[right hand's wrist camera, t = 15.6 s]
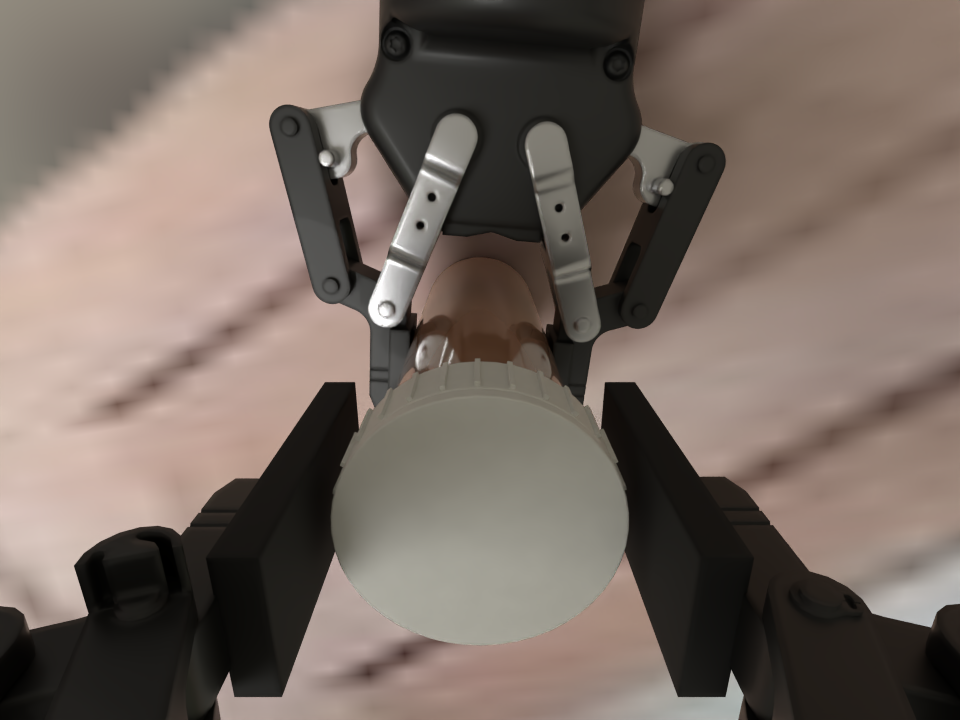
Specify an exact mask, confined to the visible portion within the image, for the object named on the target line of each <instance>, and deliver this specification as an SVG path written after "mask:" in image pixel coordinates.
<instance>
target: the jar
mask: <svg viewBox="0 0 960 720" xmlns="http://www.w3.org/2000/svg"><path fill="white" fill-rule="evenodd" d="M475 358H480V361H481V362H498V363H504V364H507V361H511V362H513V365H515V366H518V367H521V368H525V369H528V370H531V371H534V372H536V373H537V371H538V370H539V371H542V372H543V374H544V376H545V377H547V378H549V379H550V380H552V381H554V382H555V383H557V384H559V385H560V386H562V387H564V384H563V381H562V378H561V376H560V373H559V370H558V367H557V365H556V362H555V359H554V356H553V354H552V351H551V348H550V345H549V343H548V340H547V337H546V334H545V332H544V329H543V326H542V323H541V321H540V318H539V315H538V312H537V309H536V307H535V304H534V301H533V298H532V296H531V293H530V290H529V288H528V286H527V284H526V282H525V281H524V279H523V278H522V277H521V275H520V274H519V273H518V272H517V271H516V270H515V269H513V268H512V267H511V266H509V265H507V264H506V263H504V262H502V261H499V260H496V259H492V258H487V257H473V258H467V259H464V260H461V261H459V262H456V263H454V264H453V265H451V266H450V267H448V268H447V269H446V270H444V271H443V272H442V273H441V274H440V276H439V277H438V278H437V279H436V281H435V282H434V284H433V286H432V288H431V291H430V293H429V296H428V299H427V302H426V304H425V307H424V310H423V313H422V315H421V318H420V321H419V324H418V326H417V329H416V332H415V335H414V337H413V340H412V343H411V346H410V348H409V351H408V354H407V357H406V359H405V362H404V365H403V368H402V370H401V373H400V376H399V379H398V381H397V384H396V387H395V388H397V387H398V386H400V385H401V384H403V383H404V382H406V381H407V380H409V379H411V378H412V375H413V374H414V373H416V372H418V374H421V373H423V372H426V371H429V370H432V369H435V368H438V367H441V366H442V365H443V363H445V362H448V364H449V365H451V364H456V363H463V362H475Z"/></svg>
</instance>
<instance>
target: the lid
mask: <svg viewBox="0 0 960 720" xmlns="http://www.w3.org/2000/svg"><path fill="white" fill-rule="evenodd" d="M617 462H618V460H617V458H616V456H615V453H614V451H613V449H612V447H611V444H610V442H609V440H608V438H607V436H606V433H605V431H604V429H601V430H599V427H598V425H597V423H596V420H595V418H594V416H593V414H592V411H591V409H590V407H589V406H588V405H587V406H585V407H584V406H583V405H582V404H581V403H580V402H579V401H578V400H577V399H576V398H575V397H574V396H573V395H572V394H571V391H570V389H569V387H567V386H566V385H565V386H564V387H562V386H560V385H559V384H557V383H555V382H554V381H552V380H550V379H549V378H547V377H545V376H544V374H543V372H542V371H539V370H538V371H537V373H536V372H534V371H531V370H528V369H525V368H521V367H518V366H515V365H513V362H511V361H507V364H504V363H498V362H481V361H480V358H475V362H463V363H456V364H451V365H449V364H448V362H445V363H443V365H442V366H441V367H438V368H435V369H432V370H429V371H426V372H423V373H421V374H418V372H416V373H414V374H413V375H412V378H411V379H409V380H407V381H406V382H404V383H403V384H401V385H400V386H398V387H397V388H395V389H394V390H393V389H392V388H390V389H388V390H387V392H386V395H385V398H383V399H382V400H381V401H380V402H379V404H378V405H377V406H376V407H375V408H374V409H373V410H372V409H370V408H369V410H368V411H367V413H366V415H365V417H364V420H363V422H362V424H361V426H360V429H359V431H358V433H357V432H355V433H354V435H353V437H352V439H351V442H350V444H349V446H348V448H347V451H346V453H345V455H344V457H343V459H342V462H341V464H340V466H341V467H343V468H342V470H341V473H340V475H339V477H338V479H337V482H336V484H335V486H334V489H333V494H334V496H333V499H332V507H331V516H330V518H331V534H332V539H333V544H334V549H335V552H336V555H337V557H338V560H339V563H340V565H341V567H342V569H343V571H344V573H345V574H346V576H347V578H348V580H349V581H350V583H351V584H352V585H353V587H354V588H355V589H356V591H357V592H358V593H359V594H360V595H361V596H362V597H363V598H364V599H365V601H366V602H367V603H368V604H369V605H370V606H372V607H373V608H374V609H375V610H377V611H378V612H379V613H380V614H382V615H383V616H384V617H386V618H388V619H389V620H391V621H392V622H394V623H396V624H397V625H399V626H401V627H403V628H405V629H407V630H409V631H411V632H414V633H417V634H419V635H422V636H425V637H428V638H431V639H435V640H439V641H443V642H448V643H455V644H462V645H498V644H505V643H511V642H517V641H521V640H525V639H528V638H532V637H535V636H538V635H540V634H543V633H546V632H548V631H551V630H553V629H555V628H557V627H559V626H560V625H562V624H564V623H566V622H568V621H569V620H571V619H572V618H574V617H575V616H577V615H578V614H580V613H581V612H582V611H583V610H584V609H586V608H587V607H588V606H589V605H590V604H591V603H593V602H594V600H595V599H596V598H597V597H598V596H599V595H600V594H601V593H602V592H603V591H604V589H605V588H606V586H607V585H608V584H609V582H610V581H611V579H612V578H613V576H614V574H615V572H616V570H617V568H618V566H619V564H620V562H621V560H622V557H623V554H624V551H625V548H626V543H627V537H628V532H629V509H628V502H627V496H626V493H625V490H627V489H626V485H625V482H624V480H623V478H622V476H621V473H620V471H619V469H618V466H617V464H616V463H617Z"/></svg>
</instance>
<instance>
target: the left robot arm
mask: <svg viewBox="0 0 960 720" xmlns="http://www.w3.org/2000/svg"><path fill="white" fill-rule="evenodd" d="M644 1H645V0H380V16H379V50H378V57H377V61H376V64H375V68H374V70H373V73H372V75H371V77H370V79H369V81H368V82H367V84H366V86H365V88H364V90H363V93H362V96H361V100H359V101H354V102H348V103H343V104H337V105H332V106H326V107H321V108H315V109H305V108H301V107H297V106H293V105H282V106H279V107H278V108H276V109H275V110H274V111H273V113H272V115H271V117H270V121H269V128H270V132H271V136H272V140H273V143H274V147H275V151H276V154H277V158H278V162H279V165H280V169H281V173H282V176H283V180H284V184H285V188H286V191H287V195H288V199H289V202H290V206H291V210H292V213H293V217H294V221H295V224H296V228H297V232H298V235H299V239H300V243H301V246H302V250H303V254H304V257H305V261H306V265H307V269H308V272H309V276H310V280H311V283H312V287H313V290H314V292H315V294H316V296H317V297H318V298H319V299H320V300H322V301H323V302H326V303H329V304H337V303H340V304H343V305H345V306H347V307H350V308H352V309H354V310H356V311H358V312H360V313H361V314H362V315H363V316H364V317H365V318H366V319H367V321H368V323H369V326H370V397H371V400H372V402H373V405H374V407H376V406H377V405H378V404H379V402H380V401H381V400H382V399H383V398H385V395H386V392H387V390H388V389H390V388H392V389H393V390H394V389H395V387H396V384H397V381H398V379H399V376H400V373H401V370H402V368H403V365H404V362H405V359H406V357H407V354H408V351H409V348H410V346H411V343H412V340H413V337H414V335H415V332H416V327H417V313H411V303H412V298H413V296H414V294H415V291H416V289H417V287H418V284H419V282H420V279H421V277H422V275H423V272H424V270H425V268H426V265H427V263H428V261H429V258H430V256H431V254H432V251H433V249H434V247H435V244H436V242H437V240H438V237H439V235H440V233H441V231H443V234H442V235H452V236H465V237H468V236H473V235H478V234H484V233H489V232H494V233H497V234H499V235H502V236H505V237H508V238H510V239H513V240H516V241H526V242H538V243H539V246H540V250H541V254H542V258H543V261H544V265H545V268H546V272H547V276H548V281H549V285H550V289H551V294H552V298H553V302H554V306H555V315H554V323H553V325H552V324H547V326H546V337H547V340H548V343H549V345H550V348H551V351H552V354H553V356H554V359H555V362H556V365H557V367H558V370H559V373H560V376H561V378H562V381H563V384H564V386H565V385H566V386H567V387H569V389H570V391H571V394H572V395H573V396H574V397H575V398H576V399H577V400H578V401H579V402H580V403H581V404H582V405H583V402H584V395H585V389H586V382H587V376H588V370H589V363H590V357H591V351H592V346H593V344H594V342H595V340H596V339H597V338H598V337H599V336H600V335H601V334H603V333H605V332H607V331H610V330H613V329H617V328H621V327H625V326H629V327H631V328H635V329H641V328H645V327H647V326H649V325H650V324H651V323H652V322H653V321H654V320H655V318H656V316H657V314H658V312H659V310H660V308H661V306H662V303H663V301H664V299H665V297H666V295H667V293H668V290H669V288H670V286H671V284H672V282H673V279H674V277H675V275H676V273H677V271H678V269H679V266H680V264H681V262H682V260H683V258H684V256H685V253H686V251H687V249H688V247H689V245H690V243H691V240H692V238H693V236H694V234H695V232H696V230H697V227H698V225H699V223H700V221H701V219H702V217H703V214H704V212H705V210H706V208H707V206H708V203H709V201H710V199H711V197H712V195H713V193H714V190H715V188H716V186H717V184H718V182H719V180H720V177H721V175H722V173H723V171H724V168H725V163H726V159H725V154H724V152H723V150H722V149H721V148H720V147H719V146H717V145H716V144H713V143H702V142H692V143H688V142H685V141H683V140H680V139H677V138H675V137H672V136H669V135H667V134H664V133H661V132H659V131H656V130H653V129H651V128H648V127H645V126H643V125H642V119H641V113H640V110H639V107H638V105H637V102H636V98H635V94H634V87H633V70H634V64H635V58H636V52H637V45H638V39H639V33H640V26H641V20H642V13H643V7H644ZM366 135H369V136H370V138H371V139H372V141H373V142H374V144H375V145H376V147H377V149H378V150H379V152H380V153H381V155H382V157H383V158H384V160H385V161H386V163H387V165H388V166H389V168H390V169H391V171H392V172H393V174H394V176H395V177H396V179H397V180H398V182H399V184H400V185H401V187H402V188H403V190H404V192H405V193H406V195H407V196H408V198H409V200H408V202H407V205H406V207H405V210H404V212H403V215H402V217H401V220H400V222H399V225H398V227H397V230H396V233H395V235H394V238H393V240H392V243H391V245H390V248H389V251H388V256H387V259H386V261H385V264H384V266H383V269H382V271H381V272H380V271H378V270H376V269H374V268H371V267H369V266H367V265H365V264H363V262H362V258H361V253H360V249H359V245H358V241H357V236H356V232H355V228H354V224H353V219H352V215H351V211H350V207H349V203H348V198H347V194H346V190H345V186H344V181H343V177H346V176H348V175H350V174H351V173H352V172H353V171H354V170H355V168H356V165H357V147H358V144H359V142H360V141H361V140H362V138H364V137H365V136H366ZM627 158H629V159H630V160H631V162H632V163H633V165H634V168H635V178H634V182H633V192H634V194H635V196H636V198H637V199H638V200H640V201H641V202H643V204H642V206H641V209H640V211H639V213H638V216H637V218H636V220H635V223H634V225H633V228H632V230H631V232H630V235H629V237H628V239H627V242H626V244H625V247H624V249H623V251H622V254H621V256H620V258H619V261H618V263H617V266H616V268H615V270H614V273H613V275H612V277H611V280H610V282H609V284H606V285H603V286H599V287H595V288H594V286H593V281H592V276H591V260H590V255H589V250H588V245H587V240H586V235H585V231H584V226H583V221H582V216H581V210H582V208H583V207H584V206H585V205H586V204H587V203H588V202H589V201H590V199H591V198H592V197H593V196H594V195H595V194H596V193H597V192H598V191H599V189H600V188H601V187H602V186H603V185H604V184H605V183H606V182H607V180H608V179H609V178H610V177H611V176H612V175H613V174H614V173H615V171H616V170H617V169H618V168H619V167H620V166H621V165H622V164H623V162H624V161H625V160H626V159H627Z"/></svg>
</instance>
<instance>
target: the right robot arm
mask: <svg viewBox="0 0 960 720" xmlns="http://www.w3.org/2000/svg"><path fill="white" fill-rule="evenodd" d="M601 429H604V431H605V433H606V436H607V438H608V440H609V442H610V444H611V447H612V449H613V451H614V453H615V456H616V458H617V460H618V462H617V463H616V464H617V466H618V469H619V471H620V473H621V476H622V478H623V480H624V482H625V485H626V489H627V490H625V493H626V496H627V502H628V509H629V532H628V537H627V543H626V548H625V553H626V556H627V558H628V561H629V564H630V567H631V569H632V572H633V575H634V578H635V580H636V583H637V586H638V589H639V591H640V594H641V597H642V599H643V602H644V605H645V608H646V610H647V613H648V616H649V619H650V621H651V624H652V627H653V630H654V632H655V635H656V638H657V641H658V643H659V646H660V649H661V651H662V654H663V657H664V660H665V662H666V665H667V668H668V671H669V673H670V676H671V679H672V682H673V684H674V687H675V690H676V693H677V695H678V697H726V692H727V687H728V682H729V677H730V673H731V670H732V672H733V674H734V676H735V678H736V680H737V682H738V684H739V686H740V688H741V690H742V692H743V694H744V697H743V701H742V706H741V710H740V715H739V719H738V720H960V604H954V605H946V606H944V607H943V608H942V609H940V610H939V611H938V612H937V614H936V616H935V619H934V622H933V625H932V627H931V628H930V627H926V626H922V625H917V624H913V623H908V622H904V621H900V620H895V619H891V618H886V617H882V616H879V615H875V614H872V613H871V611H870V610H869V608H868V607H867V605H866V604H865V603H864V601H863V600H862V599H861V598H860V597H859V596H858V595H856V594H855V593H854V592H853V591H852V590H850V589H849V588H848V587H846V586H845V585H843V584H841V583H839V582H837V581H835V580H833V579H831V578H829V577H827V576H823V575H820V574H817V573H813V572H810V571H809V570H808V569H807V568H806V567H805V565H804V564H803V563H802V561H801V560H800V559H799V558H798V556H797V555H796V554H795V553H794V551H793V550H792V549H791V548H790V546H789V545H788V544H787V542H786V541H785V540H784V539H783V537H782V536H781V535H780V534H779V532H778V531H777V530H776V529H775V527H774V526H773V525H770V521H769V520H768V518H767V517H766V516H765V515H764V513H763V512H762V511H759V507H758V506H757V505H756V503H755V502H754V501H753V499H752V498H751V497H750V496H749V494H748V493H747V492H746V491H745V490H744V489H742V488H741V487H739V486H738V485H736V484H735V483H733V482H732V481H730V480H729V479H727V478H726V477H699V476H698V474H697V473H696V471H695V470H694V468H693V467H692V465H691V464H690V462H689V461H688V460H687V458H686V457H685V455H684V454H683V452H682V451H681V449H680V448H679V446H678V445H677V443H676V442H675V440H674V439H673V437H672V436H671V435H670V433H669V432H668V430H667V429H666V427H665V426H664V424H663V423H662V421H661V420H660V418H659V417H658V415H657V414H656V413H655V411H654V410H653V408H652V407H651V405H650V404H649V402H648V401H647V399H646V398H645V396H644V395H643V393H642V392H641V390H640V389H639V388H638V386H637V385H636V383H635V382H605V389H604V400H603V412H602V424H601ZM358 431H359V424H358V412H357V400H356V388H355V382H325V383H324V385H323V386H322V388H321V389H320V390H319V392H318V393H317V395H316V396H315V398H314V399H313V401H312V402H311V404H310V405H309V407H308V408H307V410H306V411H305V413H304V414H303V415H302V417H301V418H300V420H299V421H298V423H297V424H296V426H295V427H294V429H293V430H292V432H291V433H290V435H289V436H288V437H287V439H286V440H285V442H284V443H283V445H282V446H281V448H280V449H279V451H278V452H277V454H276V455H275V457H274V458H273V460H272V461H271V462H270V464H269V465H268V467H267V468H266V470H265V471H264V473H263V474H262V476H261V477H260V479H234V480H233V481H231V482H230V483H228V484H227V485H225V486H224V487H222V488H221V489H220V490H218V491H217V492H215V493H214V494H213V495H212V497H211V498H210V499H209V500H208V502H207V503H206V504H205V506H204V507H203V508H202V509H201V513H198V515H197V516H196V517H195V518H194V520H193V521H192V522H191V523H190V527H187V529H186V530H185V531H184V532H183V534H182V535H181V536H180V535H179V534H178V533H177V532H176V531H174V530H173V529H171V528H166V527H161V526H151V527H139V528H135V529H132V530H128V531H124V532H121V533H118V534H116V535H114V536H112V537H109V538H107V539H105V540H103V541H101V542H99V543H98V544H96V545H95V546H94V547H92V548H91V549H89V550H88V551H87V552H85V553H84V554H83V555H82V557H81V558H80V559H79V560H78V561H77V563H76V564H75V565H74V567H75V571H76V574H77V577H78V580H79V584H80V587H81V590H82V593H83V597H84V600H85V603H86V606H87V609H88V613H89V614H88V616H86V617H83V618H79V619H76V620H71V621H67V622H62V623H58V624H54V625H49V626H45V627H40V628H36V629H32V630H29V627H28V625H27V622H26V619H25V616H24V614H23V613H21V612H20V611H19V610H17V609H16V608H13V607H2V606H0V720H221V719H220V712H219V706H218V701H217V695H218V693H219V691H220V689H221V687H222V685H223V683H224V681H225V679H226V677H227V675H228V673H230V677H231V682H232V687H233V692H234V697H282V695H283V693H284V690H285V687H286V684H287V682H288V679H289V676H290V673H291V671H292V668H293V665H294V662H295V660H296V657H297V654H298V651H299V649H300V646H301V643H302V641H303V638H304V635H305V632H306V630H307V627H308V624H309V621H310V619H311V616H312V613H313V610H314V608H315V605H316V602H317V599H318V597H319V594H320V591H321V589H322V586H323V583H324V580H325V578H326V575H327V572H328V569H329V567H330V564H331V561H332V558H333V556H334V553H335V549H334V544H333V539H332V534H331V518H330V516H331V507H332V499H333V496H334V494H333V489H334V486H335V484H336V482H337V479H338V477H339V475H340V473H341V470H342V468H343V467H341V466H340V464H341V462H342V459H343V457H344V455H345V453H346V451H347V448H348V446H349V444H350V442H351V439H352V437H353V435H354V433H355V432H357V433H358Z"/></svg>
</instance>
